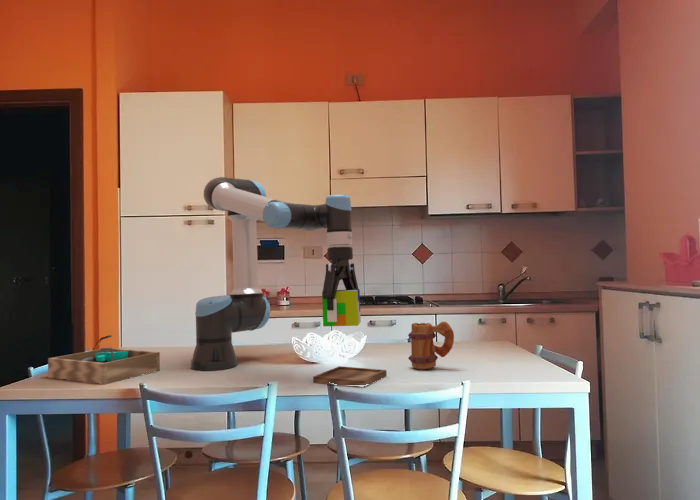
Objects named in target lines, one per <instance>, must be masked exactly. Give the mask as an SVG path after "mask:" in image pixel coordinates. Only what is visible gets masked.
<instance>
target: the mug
mask: <svg viewBox="0 0 700 500" xmlns="http://www.w3.org/2000/svg"><path fill="white" fill-rule="evenodd" d="M436 333H438V334H439V335H441V336H443V338H444V341H443V344H442V345H441V346H437V345H435V344H434V339H435V338H436V337H437V334H436ZM454 333H455V332H454V330H453V328H452V327H451V325H450V324H449V323H448V322H447V321H443V320H442V321H441V322H439V323H438V324H437V325H432V323H430V322H427V323H425V322H420V323H418V322H414V323H411V331H410V332H409V333H408V334H407V336H408V337H409V338H410V339H411V341H410V343H411V350H410V351H411V352H410V353H411V354H410V355H409V357H408V360H409V361H410V362H411V366H412V368H414V369H416V370H429V369H432V368H435V366H436V365H437V363H436V362H437V360H438V358H439V357H441V358H445V357H446V356H447V355H448V354H449V353H450V351H451V350H452V349H453V346H454V341H455V334H454ZM436 354H437V355H438V356H439V357H438V356H437V355H436Z"/></svg>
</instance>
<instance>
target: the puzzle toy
mask: <svg viewBox="0 0 700 500" xmlns="http://www.w3.org/2000/svg"><path fill="white" fill-rule="evenodd" d="M360 292H361V291H360V289H359V288H358V289H354V290H346V289H337V291H336V295H335V298H334V299H336V304H337V322H328V319H327V299H323V297H322V296H321V297H322V303H321V304H322V326H323V327H353V326H358V325H360V324H361V322H362V321H361V319H362V318H361V317H362V316H361V295H360V294H361V293H360Z"/></svg>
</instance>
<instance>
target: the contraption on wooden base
mask: <svg viewBox="0 0 700 500" xmlns="http://www.w3.org/2000/svg"><path fill="white" fill-rule="evenodd" d="M111 337H112V335H111V334H110V335H107V336H103V337H100V338H98V340H97V341H96V343H95V344H94V345H95V346H94V347H93V348H92V350H96V349H95V348H96V346H99V345H100V343H101V342H102V341H103V340H106V339H109V338H111ZM99 349H100V352H102V350H108V349H111V352H102V353H95V356H93V357H89V358H85V359H83V360H82V361H90V362H92V361H93V362H100V363H106V362H111V361H116V360H121V359H126V358H127V356H128V352H127V351H122V352H113V349H114V347H112V346H111V347H101V348H99Z"/></svg>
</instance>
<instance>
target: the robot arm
mask: <svg viewBox="0 0 700 500" xmlns="http://www.w3.org/2000/svg"><path fill="white" fill-rule="evenodd" d="M203 199H204V201H205V203H206V205H207V206H209V207H210V208H212V209H214V210H217V211H220V212H227V218H228V219H229V220H230V221H231V231H232V236H231V237H232V260H233V261H232V262H233V263H232V264H233V265H232V266H233V267H232V269H233V289H232V290H231V292H230V293H229V295H225V294H224V295H217V296H215V295H214V296H209V297H204V298H202V299H199V300H198V301H197V303H196V304H195V305H196V306H195V314H194V315H195V335H196V336H195V337H196V339H195V347H194V351H193V354H192V359H191V360H190V367H191V370H195V371H221V370H226V369H230V368H231V369H232V368H234V367H236V366H238V357H237V355H236V352H235V349H234V345H233V341H232V340H233V339H232V335H233V334H234V333H240V332H247V331H250V332H252V331H255V330H259V329H262V328H264V327H265V325H266V324H267V323H268V321H269V319H270V315H271V306H270V302H269V301H268V299H267V298H266V297H264V292H263V291H262V289H260V288H259V270H258V269H259V267H258V266H259V265H258V236H257V235H258V233H257V232H258V230H257V221H261V222H264V223H265V225H266V226H267V227H269V228H274V229H297V230H302V231H311V232H312V231H315V230H322V229H326V246H328V248H327V259H328V261H331V263H326V264H325V275H324V282H323V287H322V292H321V297H323V299H327V319H328V322H337V304H336V299H334V298H335V295H336V291H337V290H338V288H339V284H340V281H341V280H342V283H343V285H344V289H345V290H354V289H359V285H358V280H357V275H356V272H355V263H352V262H351V263H350V262H349V260H353V257H354V254H353V250H354V249H353V247H351V246H352V245H353V237H354V235H353V234H352V233H353V232H352V230H353V229H352V210H353V209H352V204H351V203H352V201H351V197H350V196H349V195H347V194H329V195H327V196H326V197H325V203H323V204H303V203H291V202H285V201H283V200H282V201H281V200H278V199H274V198H270V197H267V193H266V191H265V188H264V186H263V185H261V183H259V182H257V181H254V180H250V179H241V178H234V177H232V178H231V177H224V176H222V177H221V176H220V177H215V178H213V179H210V180H209V181H208V182H207V183H206V185H205V187H204V189H203ZM232 333H233V334H232Z"/></svg>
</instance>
